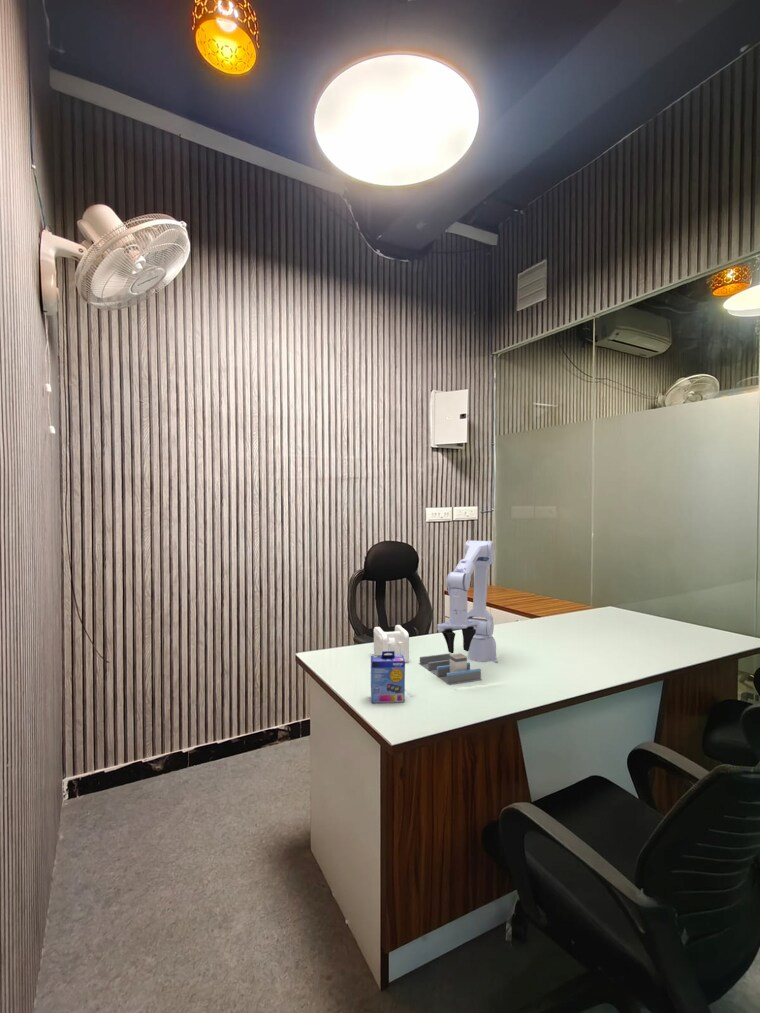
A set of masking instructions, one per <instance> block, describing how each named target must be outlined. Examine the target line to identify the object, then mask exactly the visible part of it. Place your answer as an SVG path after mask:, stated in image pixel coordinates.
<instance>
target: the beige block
mask: <svg viewBox="0 0 760 1013" xmlns="http://www.w3.org/2000/svg"><path fill="white" fill-rule="evenodd" d="M449 658H450V673H451V672H458V671H465V670H467V663H468V657H467V656H466V655H464V654H463V653H461V652H458V653H450V655H449Z"/></svg>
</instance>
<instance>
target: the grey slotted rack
mask: <svg viewBox="0 0 760 1013" xmlns="http://www.w3.org/2000/svg"><path fill="white" fill-rule="evenodd" d="M450 654H451V653H450V652H448V653H442V654H434V655H432V654H431V655H427V656H426V655H425V656H420V657H419V663H418V665H419V666H421V667H423V668H424V669H426V670H427V671H429V672H430V673H431V674H432V675H434V676H436V677H437V678H438V679H440V680H441V681H442V682H444V683H446V684H447V685H448V686H452V685H453V686H454V685H460V684H467V683H472V682H473V683H474V682H479V681H480V682H481V681H483V679H482V670H481V668H480V667H479V668H473V669H471V662H468V661H467V670H465V671H458V672H451V673H450V658H449V655H450Z"/></svg>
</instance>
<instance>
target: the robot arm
mask: <svg viewBox="0 0 760 1013" xmlns="http://www.w3.org/2000/svg"><path fill="white" fill-rule="evenodd" d="M464 553H465V554H464V558H461V559H460V560H459V562H458V563H457V565H456V567H455V568H454V570H453V571H451V572H449V573H448V574H447V576H446V588H447V594H448V595H449V621H447V622H442V623H437V626H436V628H437V631H438V632H440V633H441V634H442V636H443V637H444V640H445V643H446V646H447V651H448V653H450V654H455V653H454V652H455V650H454V649H455V648H454V647H455V637H456V633H455V632H454V630H461V633H462V641H463V642H462V647H463V650H464V651H465V652H468V660H470V661H472V662H478V663H484V662H489V661H492V662H494V663H498V660H497V642H496V640H495V638H494V637H493V634H494V629H495V628H494V626H495V625H494V616H493V615H492V614H491V613H490V612H489V611H488V610H487V596H488V582H489V581H488V578H489V577H488V576H489V567H490V565H492V564H494V561H495V545H494V542H493V541H492V540H469V539H467V540H466V542H465V544H464ZM473 573H474V582H473V583H474V584H473V597H472V598H473V600H472V601H473V602H472V609H470V610H469V611H468V590H469V589H470V586H471V585H470V584H471V580H472V578H471V577H472V575H473Z"/></svg>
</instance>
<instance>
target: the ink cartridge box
mask: <svg viewBox="0 0 760 1013" xmlns="http://www.w3.org/2000/svg"><path fill="white" fill-rule="evenodd" d="M386 653H391V654H392V655H384V654H386ZM405 678H406V662H405V659H404V656H403V655H394V651H382V655H370V697H371V698H370V700H371V704H383V703H384V704H386V703H387V704H388V703H389V704H390V703H394V704H395V703H405V702H406V699H405V697H406V696H405V691H406V689H405V686H406V684H405V683H406V682H405V681H406V679H405Z"/></svg>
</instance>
